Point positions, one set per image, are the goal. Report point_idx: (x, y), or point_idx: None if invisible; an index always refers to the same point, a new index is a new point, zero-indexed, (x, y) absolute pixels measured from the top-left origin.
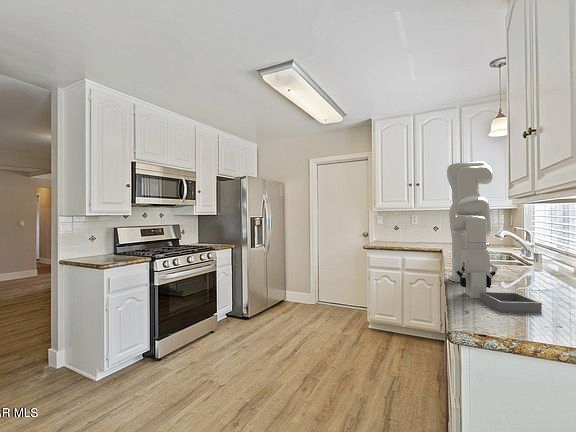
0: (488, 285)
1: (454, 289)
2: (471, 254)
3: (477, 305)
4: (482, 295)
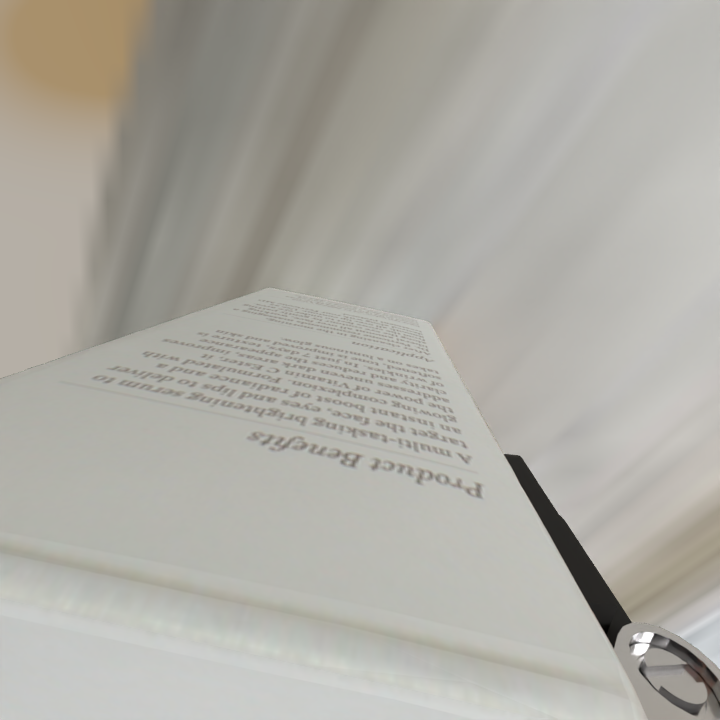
0: None
1: (207, 58)
2: None
3: None
4: None
